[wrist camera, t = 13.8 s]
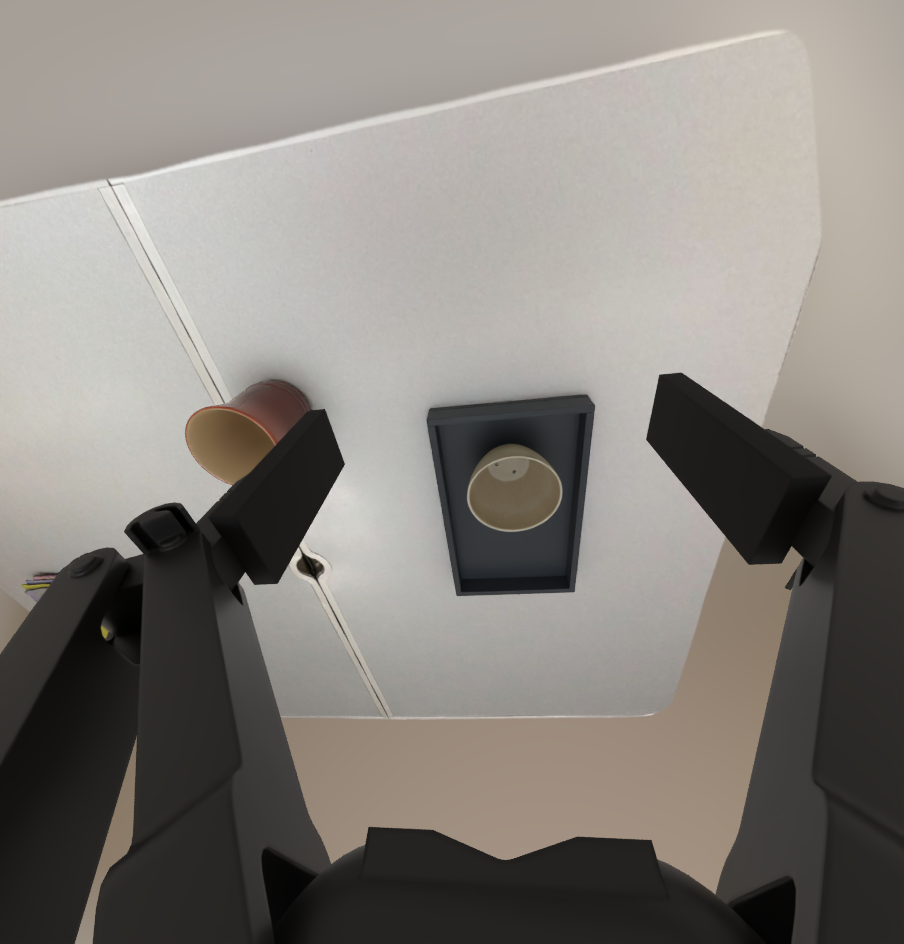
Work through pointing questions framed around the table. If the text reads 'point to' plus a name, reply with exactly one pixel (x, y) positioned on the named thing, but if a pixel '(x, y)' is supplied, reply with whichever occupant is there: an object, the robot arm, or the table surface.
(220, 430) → the mug
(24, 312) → the table surface
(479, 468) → the flower pot
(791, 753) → the robot arm
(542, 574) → the tray
